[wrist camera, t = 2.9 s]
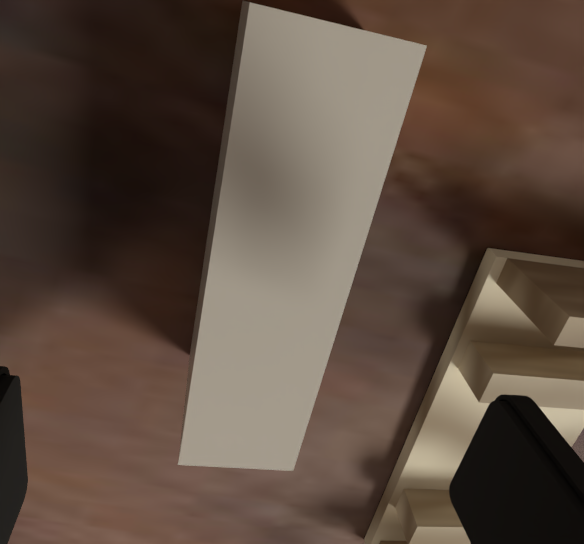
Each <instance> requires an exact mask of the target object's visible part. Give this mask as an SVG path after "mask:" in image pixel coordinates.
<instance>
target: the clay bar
mask: <svg viewBox="0 0 584 544" xmlns="http://www.w3.org/2000/svg"><path fill="white" fill-rule="evenodd" d="M426 47H427V46H426V45H422V44H418V43H414V42H410V41H406V40H402V39H398V38H394V37H390V36H386V35H382V34H378V33H374V32H370V31H366V30H362V29H358V28H353V27H349V26H345V25H341V24H337V23H333V22H329V21H325V20H321V19H317V18H313V17H309V16H305V15H301V14H296V13H292V12H288V11H284V10H280V9H276V8H272V7H268V6H264V5H260V4H256V3H252V2H248V1H243V0H242V7H241V14H240V21H239V27H238V34H237V41H236V47H235V54H234V61H233V68H232V74H231V81H230V88H229V95H228V101H227V108H226V115H225V121H224V128H223V135H222V142H221V148H220V155H219V162H218V169H217V175H216V182H215V189H214V195H213V202H212V209H211V216H210V222H209V229H208V236H207V243H206V249H205V256H204V263H203V269H202V276H201V283H200V290H199V296H198V303H197V310H196V317H195V323H194V330H193V337H192V343H191V350H190V358H189V367H188V376H187V386H186V395H185V405H184V414H183V424H182V433H181V442H180V452H179V461H178V465H191V466H210V467H229V468H248V469H268V470H287V471H293V470H294V466H295V463H296V460H297V457H298V454H299V451H300V447H301V444H302V441H303V438H304V435H305V431H306V428H307V425H308V422H309V419H310V416H311V412H312V409H313V406H314V403H315V400H316V396H317V393H318V390H319V387H320V384H321V381H322V377H323V374H324V371H325V368H326V365H327V361H328V358H329V355H330V352H331V349H332V346H333V342H334V339H335V336H336V333H337V330H338V327H339V323H340V320H341V317H342V314H343V311H344V307H345V304H346V301H347V298H348V295H349V292H350V288H351V285H352V282H353V279H354V276H355V272H356V269H357V266H358V263H359V260H360V257H361V253H362V250H363V247H364V244H365V241H366V238H367V234H368V231H369V228H370V225H371V222H372V218H373V215H374V212H375V209H376V206H377V203H378V199H379V196H380V193H381V190H382V187H383V183H384V180H385V177H386V174H387V171H388V168H389V164H390V161H391V158H392V155H393V152H394V149H395V145H396V142H397V139H398V136H399V133H400V129H401V126H402V123H403V120H404V117H405V114H406V110H407V107H408V104H409V101H410V98H411V94H412V91H413V88H414V85H415V82H416V79H417V75H418V72H419V69H420V66H421V63H422V60H423V56H424V53H425V50H426Z"/></svg>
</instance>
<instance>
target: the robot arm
mask: <svg viewBox="0 0 584 544" xmlns="http://www.w3.org/2000/svg"><path fill="white" fill-rule="evenodd" d="M27 483H28V476H27V463H26V450H25V437H24V424H23V411H22V398H21V386H20V378H19V376H12V375H10V374H9V370H8V368H7V367H3V366H0V544H7V543H8V541H9V538H10V535H11V533H12V530H13V528H14V525H15V522H16V520H17V517H18V514H19V512H20V509H21V507H22V504H23V501H24V498H25V494H26V490H27ZM449 495H450V500H451V502H452V505H453V507H454V509H455V511H456V513H457V515H458V517H459V519H460V522H461V524H462V526H463V528H464V530H465V532H466V534H467V536H468V538H469V540H470V543H471V544H584V462H583V461H582V460H581V459H580V457H579V456H578V455H577V454H576V453H575V451H574V450H573V449H572V448H571V446H570V445H569V444H568V443H567V441H566V440H565V439H564V438H563V436H562V435H561V434H560V433H559V431H558V430H557V429H556V428H555V426H554V425H553V424H552V423H551V421H550V420H549V419H548V418H547V417H546V415H545V414H544V413H543V412H542V410H541V409H540V408H539V407H538V405H537V404H536V403H535V402H534V400H532V399H531V398H530V397H528V396H523V395H505V394H504V395H500V396H498V397H497V398H496V399H495V401H492V402H491V403H490V404H489V406H488V408H487V410H486V412H485V414H484V416H483V418H482V420H481V422H480V424H479V426H478V428H477V430H476V432H475V434H474V436H473V438H472V440H471V442H470V444H469V446H468V448H467V450H466V452H465V455H464V457H463V459H462V461H461V463H460V465H459V467H458V469H457V471H456V473H455V475H454V477H453V479H452V481H451V483H450V486H449Z"/></svg>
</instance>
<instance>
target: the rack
mask: <svg viewBox="0 0 584 544" xmlns="http://www.w3.org/2000/svg"><path fill="white" fill-rule="evenodd" d="M504 394H505V395H523V396H528V397H530V398H531V399H532V400H534V402H535V403H536V404H537V405H538V407H539V408H540V409H541V410H542V412H543V413H544V414H545V415H546V417H547V418H548V419H549V420H550V421H551V423H552V424H553V425H554V426H555V428H556V429H557V430H558V431H559V433H560V434H561V435H562V436H563V438H564V439H565V440H566V441H567V443H568V444H569V445H570V446H571V447H572V445H573V444H574V442H575V441H576V439H577V438H578V436H579V434H580V433H581V431H582V430H583V428H584V261H581V260H573V259H566V258H559V257H551V256H544V255H536V254H529V253H522V252H514V251H507V250H500V249H492V248H487V250H486V252H485V255H484V257H483V259H482V262H481V264H480V266H479V269H478V271H477V274H476V276H475V278H474V281H473V283H472V285H471V288H470V290H469V292H468V295H467V297H466V300H465V302H464V304H463V307H462V309H461V311H460V314H459V316H458V318H457V321H456V323H455V326H454V328H453V330H452V333H451V335H450V337H449V340H448V342H447V344H446V347H445V349H444V352H443V354H442V356H441V359H440V361H439V363H438V366H437V368H436V370H435V373H434V375H433V378H432V380H431V382H430V385H429V387H428V389H427V392H426V394H425V396H424V399H423V401H422V404H421V406H420V408H419V411H418V413H417V415H416V418H415V420H414V422H413V425H412V427H411V430H410V432H409V434H408V437H407V439H406V441H405V444H404V446H403V449H402V451H401V453H400V456H399V458H398V460H397V463H396V465H395V467H394V470H393V472H392V475H391V477H390V479H389V482H388V484H387V486H386V489H385V491H384V493H383V496H382V498H381V501H380V503H379V505H378V508H377V510H376V512H375V515H374V517H373V519H372V522H371V524H370V527H369V529H368V531H367V534H366V536H365V538H364V542H365V544H471V543H470V540H469V538H468V536H467V534H466V532H465V530H464V528H463V526H462V524H461V522H460V519H459V517H458V515H457V513H456V511H455V509H454V507H453V505H452V502H451V500H450V495H449V486H450V483H451V481H452V479H453V477H454V475H455V473H456V471H457V469H458V467H459V465H460V463H461V461H462V459H463V457H464V455H465V452H466V450H467V448H468V446H469V444H470V442H471V440H472V438H473V436H474V434H475V432H476V430H477V428H478V426H479V424H480V422H481V420H482V418H483V416H484V414H485V412H486V410H487V408H488V406H489V404H490V403H491V402H492V401H495V399H496V398H497V397H498V396H500V395H504Z"/></svg>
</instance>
